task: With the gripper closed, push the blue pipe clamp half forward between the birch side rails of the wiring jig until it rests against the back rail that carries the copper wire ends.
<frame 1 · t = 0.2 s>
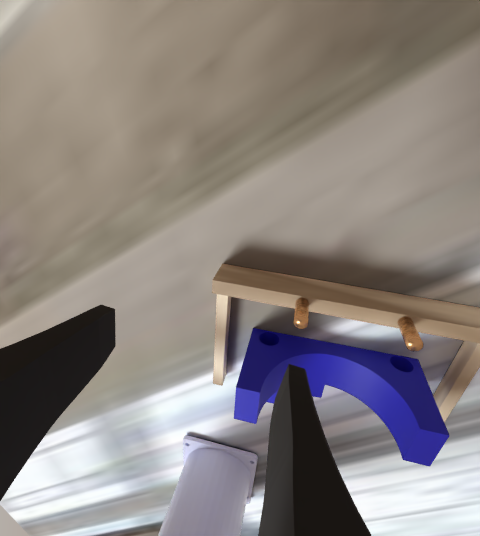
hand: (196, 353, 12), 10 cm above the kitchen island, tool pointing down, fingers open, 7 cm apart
blue pipe clamp half: (325, 361, 24), on the kitchen island
wiring jig: (335, 337, 22), on the kitchen island
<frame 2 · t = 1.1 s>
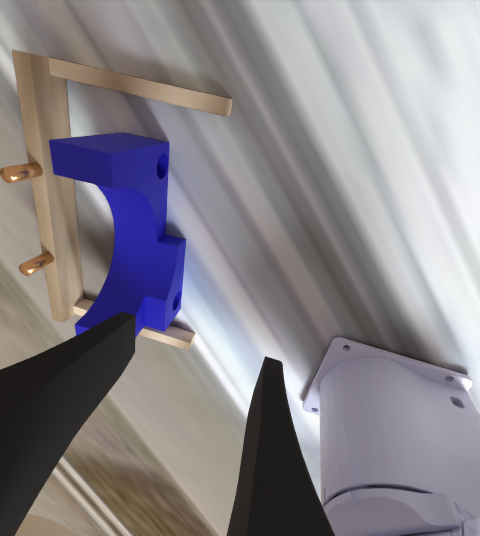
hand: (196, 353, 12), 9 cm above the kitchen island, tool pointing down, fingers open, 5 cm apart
blue pipe clamp half: (157, 230, 21), on the kitchen island
wiring jig: (121, 220, 21), on the kitchen island
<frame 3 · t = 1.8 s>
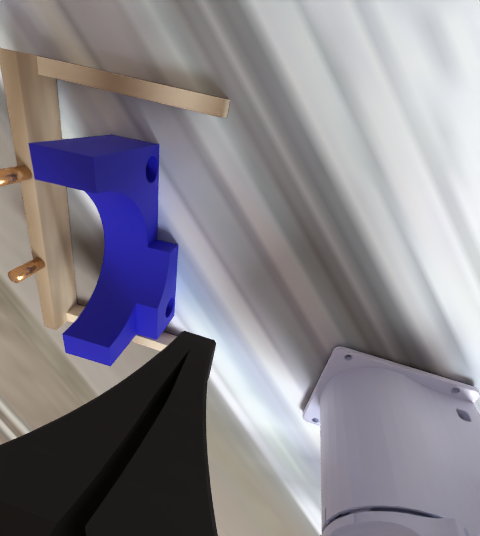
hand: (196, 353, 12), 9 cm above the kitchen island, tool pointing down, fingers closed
blue pipe clamp half: (149, 235, 20), on the kitchen island
wiring jig: (115, 225, 20), on the kitchen island
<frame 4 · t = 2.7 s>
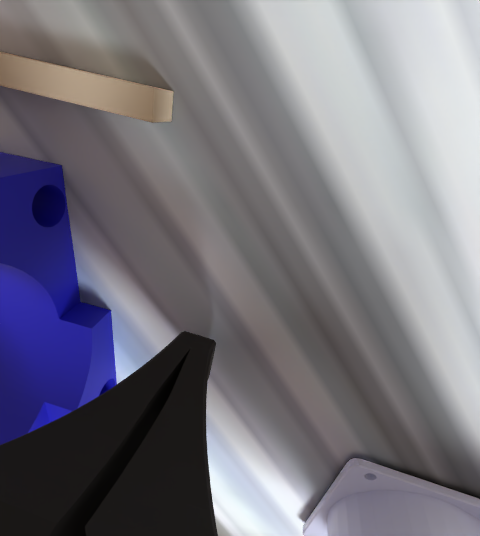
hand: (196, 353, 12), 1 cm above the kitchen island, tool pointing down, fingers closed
blue pipe clamp half: (71, 293, 14), on the kitchen island
wiring jig: (24, 280, 14), on the kitchen island
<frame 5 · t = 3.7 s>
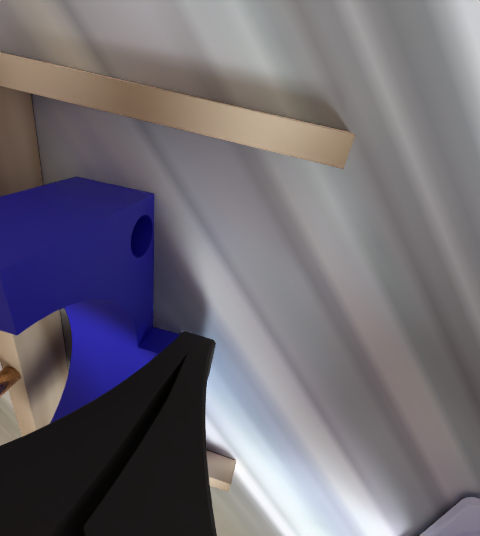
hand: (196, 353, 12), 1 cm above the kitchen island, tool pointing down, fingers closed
blue pipe clamp half: (141, 317, 14), on the kitchen island
wiring jig: (128, 313, 13), on the kitchen island
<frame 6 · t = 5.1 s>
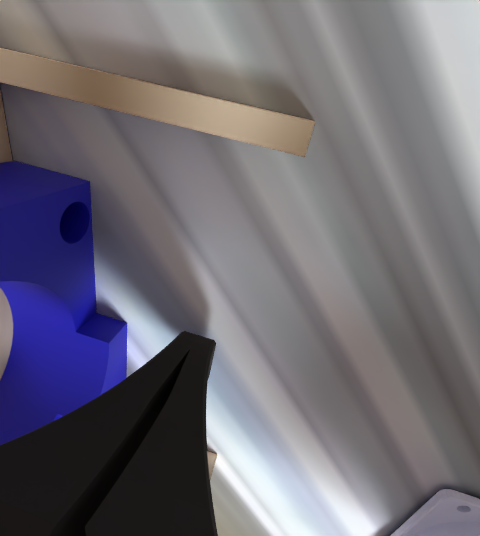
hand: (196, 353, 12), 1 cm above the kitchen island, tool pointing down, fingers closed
blue pipe clamp half: (86, 304, 14), on the kitchen island
wiring jig: (105, 306, 13), on the kitchen island
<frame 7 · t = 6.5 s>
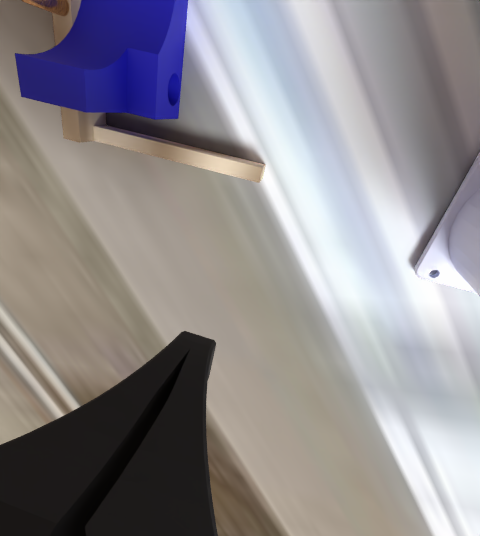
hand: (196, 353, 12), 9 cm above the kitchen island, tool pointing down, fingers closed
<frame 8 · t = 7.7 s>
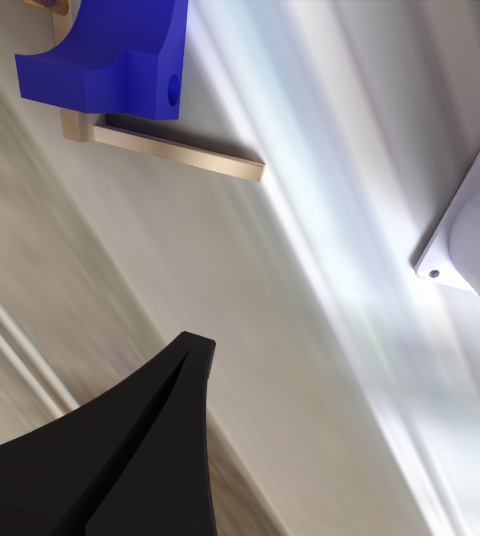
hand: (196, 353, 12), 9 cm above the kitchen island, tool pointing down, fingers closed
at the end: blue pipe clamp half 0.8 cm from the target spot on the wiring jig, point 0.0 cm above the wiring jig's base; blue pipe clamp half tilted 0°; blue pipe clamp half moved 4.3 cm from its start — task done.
